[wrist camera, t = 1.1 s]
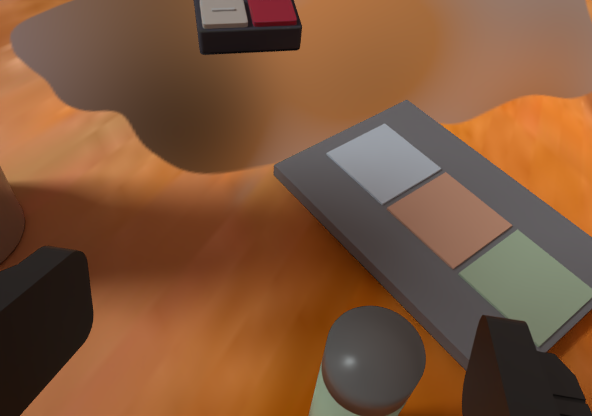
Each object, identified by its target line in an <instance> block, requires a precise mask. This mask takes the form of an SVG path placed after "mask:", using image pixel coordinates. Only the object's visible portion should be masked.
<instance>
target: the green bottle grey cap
mask: <svg viewBox="0 0 592 416" xmlns="http://www.w3.org/2000/svg"><path fill="white" fill-rule="evenodd" d="M425 362H426V355H425V349H424V345H423V342H422V340H421V338H420V336H419V334H418V332H417V331H416V329H415V328H414V327H413V326H412V325H411V323H410V322H408V321H407V320H406V319H405V318H404V317H402V316H401V315H399V314H398V313H396V312H394V311H392V310H389V309H386V308H383V307H378V306H362V307H357V308H354V309H351V310H349V311H347V312H346V313H344V314H343V315H341V316H340V317H339V318H338V319H337V320H336V321H335V323H334V324H333V325H332V327H331V329H330V331H329V334H328V338H327V342H326V346H325V350H324V354H323V358H322V362H321V367H320V371H319V375H318V379H317V383H316V387H315V391H314V395H313V399H312V404H311V408H310V412H309V416H398V414H399V413H400V411H401V409H402V408H403V406H404V405H405V403H406V401H407V400H408V398H409V397H410V395H411V393H412V392H413V390H414V388H415V387H416V385H417V384H418V382H419V380H420V379H421V377H422V375H423V372H424V369H425Z"/></svg>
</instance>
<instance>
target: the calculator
mask: <svg viewBox="0 0 592 416" xmlns="http://www.w3.org/2000/svg"><path fill="white" fill-rule="evenodd" d="M194 6H195V14H196V23H197V31H198V39H199V48H200V53H201V54H202V55H215V54H235V53H255V52H275V51H276V52H277V51H296V50H299V49H300V42H301V31H302V25H301V22H300V19H299V16H298V13H297V9H296V6H295V3H294V0H194Z"/></svg>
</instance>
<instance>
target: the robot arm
mask: <svg viewBox="0 0 592 416" xmlns="http://www.w3.org/2000/svg"><path fill="white" fill-rule="evenodd" d="M24 224H25V218H24V213H23V210H22V208H21V206H20V204H19V202H18V200H17V199H16V197H15V195H14V193H13V191H12V189H11V187H10V185H9V183H8V181H7V179H6V177H5V175H4V173H3V171H2V169H1V167H0V263H1V262H3V261H4V260H5V259H6V258H7V257H8V256H9V255H10V254H11V252H12V251H13V250H14V249H15V247H16V246H17V244H18V243H19V241H20V239H21V236H22V234H23V231H24ZM92 323H93V305H92V297H91V288H90V280H89V271H88V263H87V259H86V256H85V254H84V253H83V252H81V251H78V250H71V249H65V248H58V247H52V246H43V247H41V248H40V249H38V250H37V251H35V252H34V253H33V254H31V255H30V256H29V257H27V258H26V259H25V260H23V261H22V262H20V263H19V264H18V265H15V266H13V267H10V268H8V269H5V270H3V271H1V272H0V416H20V415H21V414H22V413H23V411H24V410H25V409H26V408H27V407H28V406H29V405H30V404H31V402H32V401H33V400H34V399H35V398H36V397H37V396H38V394H39V393H40V392H41V391H42V390H43V389H44V388H45V387H46V385H47V384H48V383H49V382H50V381H51V380H52V379H53V378H54V376H55V375H56V374H57V373H58V372H59V371H60V370H61V368H62V367H63V366H64V365H65V364H66V363H67V362H68V361H69V359H70V358H71V357H72V356H73V355H74V354H75V353H76V351H77V350H78V349H79V348H80V347H81V346H82V345H83V343H84V342H85V341H86V339H87V337H88V335H89V333H90V331H91V327H92ZM585 400H586V399H585V397H584V395H583V392H582V390H581V388H580V385H579V383H578V381H577V378H576V376H575V375H574V374H573V373H572V372H571V371H570V370H569V369H568V368H567V367H566V366H565V364H564V363H563V362H562V361H561V360H560V359H559V358H558V357H557V356H556V355H555V354H552V353H546V352H540V351H537V350H536V347H535V344H534V341H533V338H532V336H531V333H530V330H529V327H528V325H527V323H526V322H525V321H521V320H514V319H508V318H501V317H495V316H488V315H482V316H481V318H480V320H479V323H478V327H477V331H476V335H475V339H474V343H473V347H472V351H471V355H470V359H469V363H468V367H467V371H466V375H465V379H464V385H463V394H462V414H463V416H592V413H591V411H590V408H589V406H588V404H585Z"/></svg>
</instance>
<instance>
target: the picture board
mask: <svg viewBox="0 0 592 416" xmlns="http://www.w3.org/2000/svg"><path fill="white" fill-rule="evenodd" d="M274 176H275V177H276V178H277V179H278V180H279V181H280V182H281V183H282V184H283V185H284V186H285V187H286V188H287V189H288V190H289V191H290V192H291V193H292V194H293V195H294V196H295V197H296V198H297V199H298V200H299V201H300V202H301V203H302V204H303V205H304V206H305V207H306V208H307V209H308V210H309V211H310V212H311V213H312V214H313V215H314V216H315V217H316V218H317V220H318V221H319V222H320V223H321V224H322V225H323V226H324V227H325V228H326V229H327V230H328V231H329V232H330V233H331V234H332V235H333V236H334V237H335V238H336V239H337V240H338V241H339V242H340V243H341V244H342V245H343V246H344V247H345V248H346V249H347V250H348V251H349V252H350V253H351V254H352V255H353V256H354V257H355V258H356V259H357V260H358V261H359V262H360V263H361V264H362V265H363V266H364V267H365V268H366V269H367V270H368V271H369V272H370V273H371V274H372V275H373V276H374V277H375V278H376V280H377V281H378V282H379V283H380V284H381V285H382V286H383V287H384V288H385V289H386V290H387V291H388V292H389V293H390V294H391V295H392V296H393V297H394V298H395V299H396V300H397V301H398V302H399V303H400V304H401V305H402V306H403V307H404V308H405V309H406V310H407V311H408V312H409V313H410V314H411V315H412V316H413V317H414V318H415V319H416V320H417V321H418V322H419V323H420V324H421V325H422V326H423V327H424V328H425V329H426V330H427V331H428V332H429V333H430V334H431V335H432V336H433V337H434V338H435V340H436V341H437V342H438V343H439V344H440V345H441V346H442V347H443V348H444V349H445V350H446V351H447V352H448V353H449V354H450V355H451V356H452V357H453V358H454V359H455V360H456V361H457V362H458V363H459V364H460V365H461V366H462V367H463V368H464V369H465V370H466V371H467V367H468V363H469V359H470V355H471V351H472V347H473V343H474V339H475V335H476V331H477V327H478V323H479V320H480V318H481V316H482V315H488V316H495V317H501V318H508V319H514V320H521V321H525V322H526V323H527V325H528V327H529V330H530V333H531V336H532V338H533V341H534V344H535V347H536V350H537V351H540V352H547V351H548V350H549V349H550V348H551V347H552V346H553V345H554V344H555V343H557V342H558V341H559V340H560V339H561V338H562V337H563V336H564V335H565V334H566V333H567V332H568V331H569V330H570V329H571V328H572V327H573V326H574V325H575V324H577V323H578V322H579V321H580V320H581V319H582V318H583V317H584V316H585V315H586V314H587V313H588V312H589V311H590V310H591V309H592V237H591V236H589V235H588V234H587V233H585V232H584V231H582V230H581V229H580V228H578V227H577V226H576V225H574V224H573V223H572V222H570V221H569V220H568V219H566V218H565V217H564V216H562V215H561V214H560V213H558V212H557V211H556V210H554V209H553V208H552V207H550V206H549V205H548V204H546V203H545V202H544V201H542V200H541V199H540V198H538V197H537V196H536V195H534V194H533V193H531V192H530V191H529V190H527V189H526V188H525V187H523V186H522V185H521V184H519V183H518V182H517V181H515V180H514V179H513V178H511V177H510V176H509V175H507V174H506V173H505V172H503V171H502V170H501V169H499V168H498V167H497V166H495V165H494V164H493V163H491V162H490V161H489V160H487V159H486V158H484V157H483V156H482V155H480V154H479V153H478V152H476V151H475V150H474V149H472V148H471V147H470V146H468V145H467V144H466V143H464V142H463V141H462V140H460V139H459V138H458V137H456V136H455V135H454V134H452V133H451V132H450V131H448V130H447V129H446V128H444V127H443V126H442V125H440V124H439V123H437V122H436V121H435V120H433V119H432V118H431V117H429V116H428V115H426V114H425V113H424V112H423V111H421V110H420V109H419V108H417V107H416V106H415V105H413V104H412V103H411V102H409V101H408V100H405V101H403V102H401V103H399V104H397V105H395V106H393V107H391V108H389V109H387V110H385V111H383V112H381V113H379V114H377V115H375V116H373V117H371V118H369V119H367V120H365V121H363V122H360V123H358V124H356V125H354V126H352V127H350V128H348V129H346V130H344V131H342V132H340V133H338V134H336V135H334V136H332V137H330V138H328V139H326V140H324V141H322V142H320V143H318V144H316V145H314V146H312V147H310V148H308V149H306V150H304V151H302V152H299V153H297V154H295V155H293V156H291V157H289V158H287V159H285V160H283V161H281V162H279V163H277V164H275V165H274Z"/></svg>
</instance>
